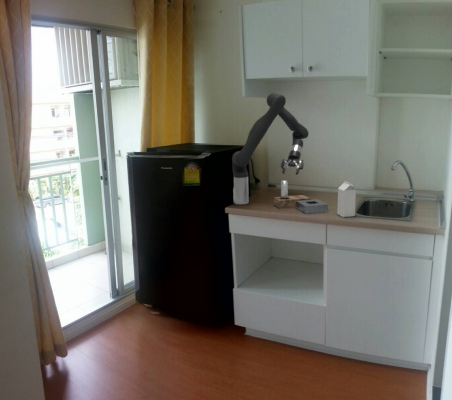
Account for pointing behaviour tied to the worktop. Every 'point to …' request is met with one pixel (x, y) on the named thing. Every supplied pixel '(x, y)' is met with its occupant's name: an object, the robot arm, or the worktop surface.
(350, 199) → the milk carton
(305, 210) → the holder
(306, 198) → the wooden block with hole
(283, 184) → the axle
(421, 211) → the worktop surface
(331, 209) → the worktop surface
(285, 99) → the robot arm
